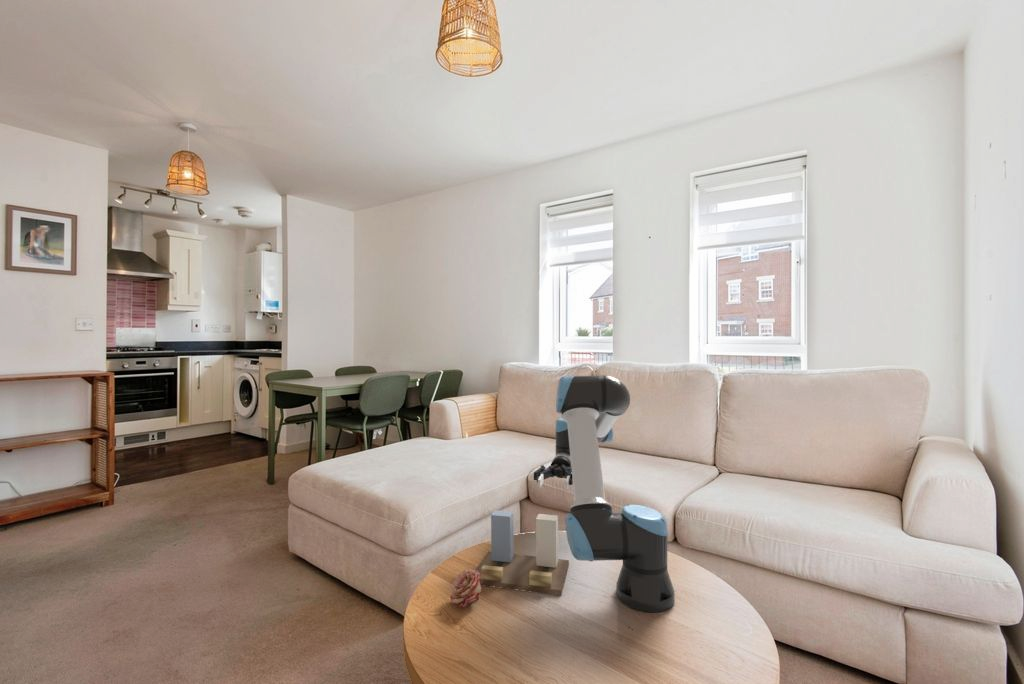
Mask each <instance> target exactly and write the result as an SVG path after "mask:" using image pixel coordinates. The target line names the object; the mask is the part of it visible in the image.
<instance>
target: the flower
mask: <svg viewBox="0 0 1024 684" xmlns="http://www.w3.org/2000/svg"><path fill="white" fill-rule="evenodd" d="M477 571H478V570H477ZM477 571H476V570H473V569H469V568H465V569H464V570H463V571H462V573H460V574H459V575H457V577H456V578H455V579H453V581H452V582H451V588H452V590H451V594H450V595H449V598H450V602H451V603H452V604H459V603H460V604H459V605H458V607H459V608H460V607H461V608H463V607H465V606H467V605H469V603H470V602H472V601H474V600H477V601H478V600H479V599H480V594H481V591H482V589H483V586H482V583H481V582H480V580H479V579H480V578H481V575H480V573H479V572H477ZM482 581H483V579H482ZM463 601H464V602H463ZM461 602H462V603H461Z"/></svg>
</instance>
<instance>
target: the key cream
mask: <svg viewBox="0 0 1024 684" xmlns="http://www.w3.org/2000/svg"><path fill="white" fill-rule="evenodd" d="M535 540H536V541H535V548H536V550H535V551H536V553H535V557H536V565H537V566H545V567H554V568H556V567H557V564H558V559H559V515H556V514H555V515H554V514H544V513H538V514H537V516H536V518H535Z"/></svg>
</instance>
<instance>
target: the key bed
mask: <svg viewBox="0 0 1024 684" xmlns="http://www.w3.org/2000/svg"><path fill="white" fill-rule="evenodd" d="M569 566H570V560H569V559H560V558H558V564H557V567H556V568H554V567H545V566H537V565H536V555H534V556H533V555H526V554H525V555H524V554H517V553H514V557H513V559H512V561H511V563H510V562H501V561H493V560H492V556H491V550H490V551H487V552H486V554H485V555H484V557H483V558H482V560H481V561H480V564H478V566H477V567H476V569H475V571H477V570H478V571H477V572H479V573H480V575H481V578H480V579H479V580H480V582H481V583H482V585H485V586H484V587H490V586H495V587H494V588H497V587H502V588H501V589H505V588H510V589H509V590H513V589H518V590H517V591H521V590H525V591H524V592H528V591H531V593H536V592H537V593H538V594H546V595H554V596H562V594H563V591H564V587H565V582H566V577H567V574H568V571H569ZM482 579H483V581H482Z"/></svg>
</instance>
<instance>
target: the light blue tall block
mask: <svg viewBox="0 0 1024 684" xmlns="http://www.w3.org/2000/svg"><path fill="white" fill-rule="evenodd" d="M490 523H491V524H490V528H491V529H490V534H491V535H490V536H491V537H490V539H491V540H490V541H491V544H490V545H491V547H490V548H491V550H490V552H491V556H492V560H493V561H501V562H510V563H511V561H512V559H513V557H514V554H515V552H514V551H515V550H514V547H515V545H514V512H513V511H508V510H496V509H494V510H493V511H492V513H491V515H490Z"/></svg>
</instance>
